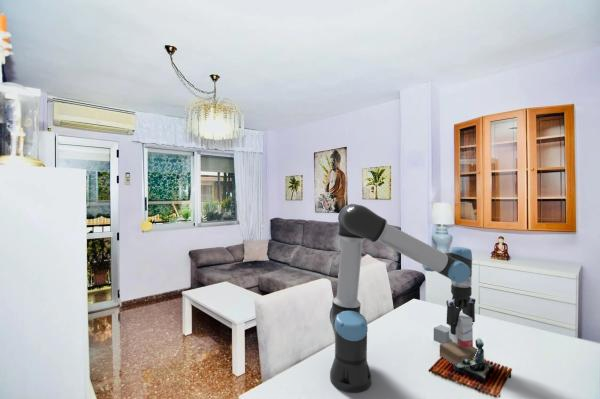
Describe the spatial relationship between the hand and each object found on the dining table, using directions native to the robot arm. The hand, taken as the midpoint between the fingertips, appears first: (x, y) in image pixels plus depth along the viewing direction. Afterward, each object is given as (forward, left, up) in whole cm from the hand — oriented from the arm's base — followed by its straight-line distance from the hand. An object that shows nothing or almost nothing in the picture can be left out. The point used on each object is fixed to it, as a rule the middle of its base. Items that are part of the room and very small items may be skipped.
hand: (460, 340), depth 125 cm
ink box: (0, 0, -1) cm, 1 cm away
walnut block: (0, 0, -8) cm, 8 cm away
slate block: (+6, +15, -8) cm, 18 cm away
